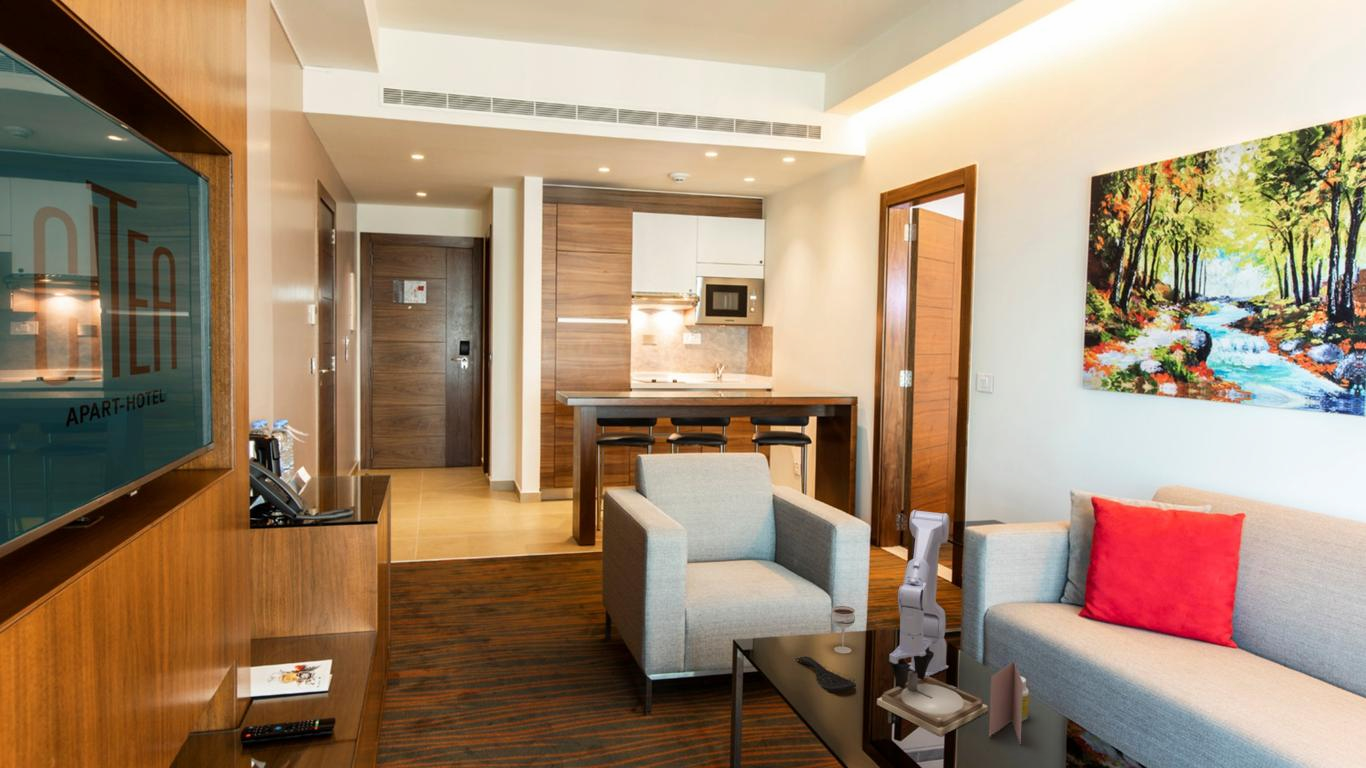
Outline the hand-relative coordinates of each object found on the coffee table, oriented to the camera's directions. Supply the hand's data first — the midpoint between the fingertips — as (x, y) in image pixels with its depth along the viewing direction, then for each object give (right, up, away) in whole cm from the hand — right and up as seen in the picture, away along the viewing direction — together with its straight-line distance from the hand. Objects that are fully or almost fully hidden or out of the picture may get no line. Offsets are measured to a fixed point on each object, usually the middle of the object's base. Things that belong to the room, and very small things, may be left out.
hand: (910, 682), depth 212 cm
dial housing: (+4, -5, -4) cm, 8 cm away
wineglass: (-11, -2, +31) cm, 33 cm away
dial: (+4, -4, -4) cm, 7 cm away
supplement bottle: (+24, -6, -8) cm, 26 cm away
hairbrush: (-20, -4, +14) cm, 25 cm away
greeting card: (+20, -7, -16) cm, 26 cm away
